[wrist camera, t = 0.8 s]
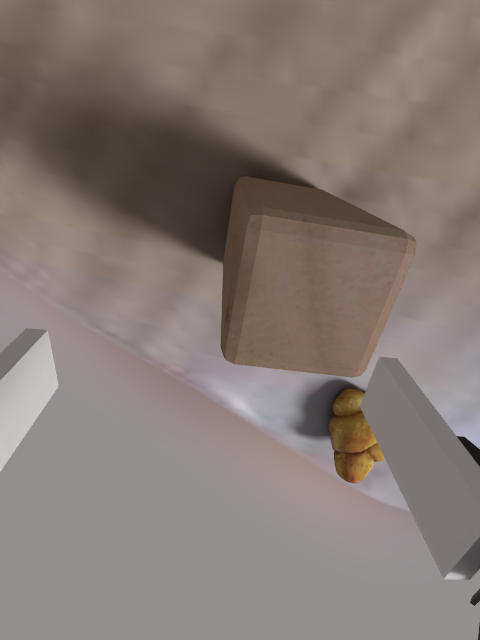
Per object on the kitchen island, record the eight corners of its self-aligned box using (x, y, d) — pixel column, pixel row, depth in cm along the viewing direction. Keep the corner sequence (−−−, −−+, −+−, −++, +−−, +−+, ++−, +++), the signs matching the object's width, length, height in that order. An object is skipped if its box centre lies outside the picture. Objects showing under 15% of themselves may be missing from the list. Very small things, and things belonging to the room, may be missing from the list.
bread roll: (320, 386, 48) (336, 428, 41) (387, 375, 47) (416, 416, 40) (325, 446, 54) (340, 492, 47) (385, 437, 53) (409, 482, 46)
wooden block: (222, 265, 39) (218, 368, 21) (235, 173, 34) (245, 207, 16) (304, 277, 40) (366, 385, 22) (328, 190, 35) (431, 237, 17)
